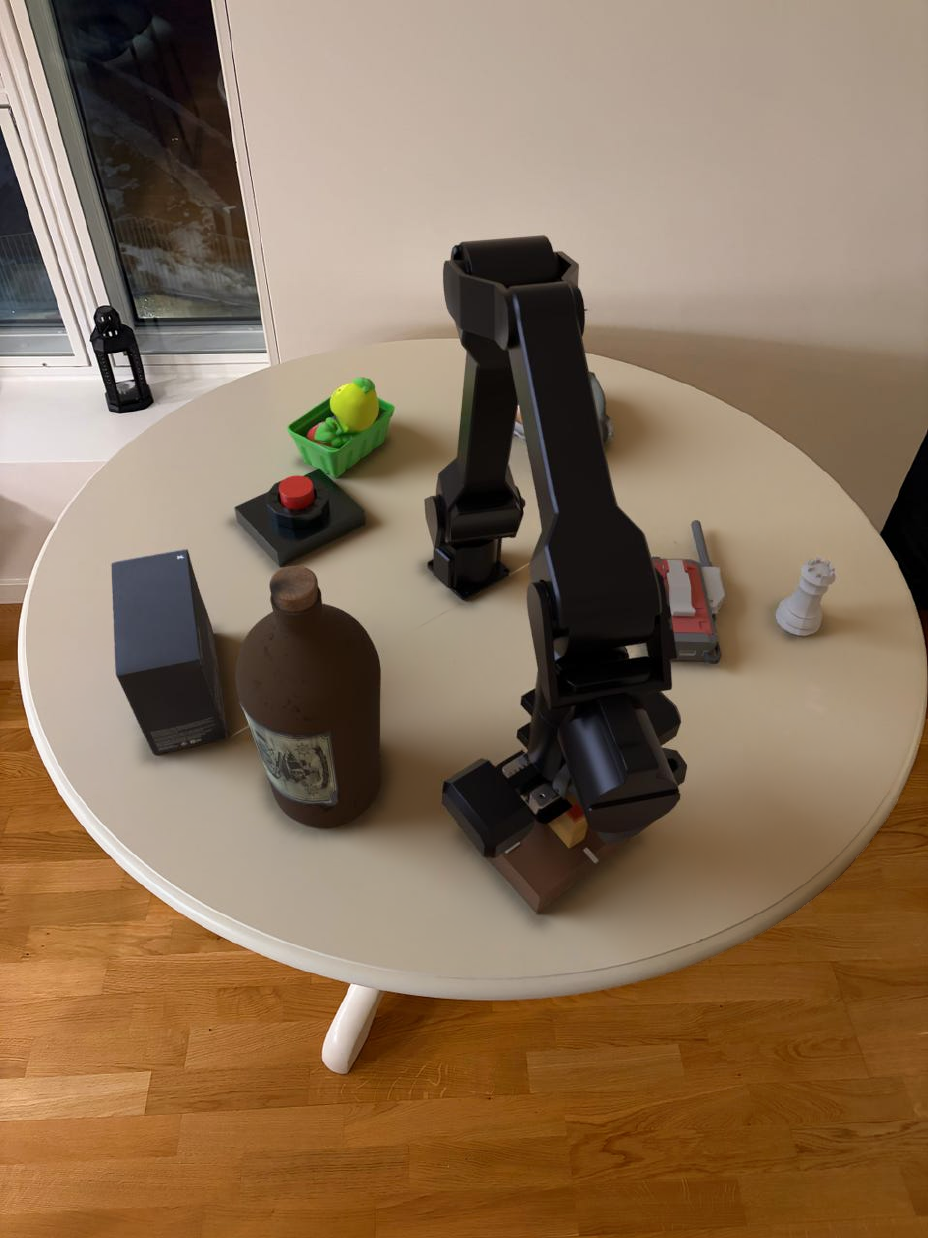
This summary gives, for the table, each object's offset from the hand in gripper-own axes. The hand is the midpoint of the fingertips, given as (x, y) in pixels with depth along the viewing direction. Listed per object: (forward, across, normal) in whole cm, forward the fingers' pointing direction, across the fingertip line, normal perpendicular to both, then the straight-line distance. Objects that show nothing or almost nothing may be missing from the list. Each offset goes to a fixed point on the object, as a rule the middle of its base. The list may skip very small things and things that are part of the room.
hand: (553, 813), depth 73 cm
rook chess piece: (+4, +36, +4) cm, 36 cm away
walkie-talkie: (+4, +28, +13) cm, 32 cm away
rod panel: (+4, 0, 0) cm, 4 cm away
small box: (+4, -19, +31) cm, 36 cm away
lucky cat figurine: (+4, +35, +42) cm, 55 cm away
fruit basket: (+4, +12, +53) cm, 54 cm away
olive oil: (+4, -13, +15) cm, 20 cm away
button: (0, +2, +45) cm, 45 cm away
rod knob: (0, 0, 0) cm, 0 cm away
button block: (+4, +2, +45) cm, 45 cm away
